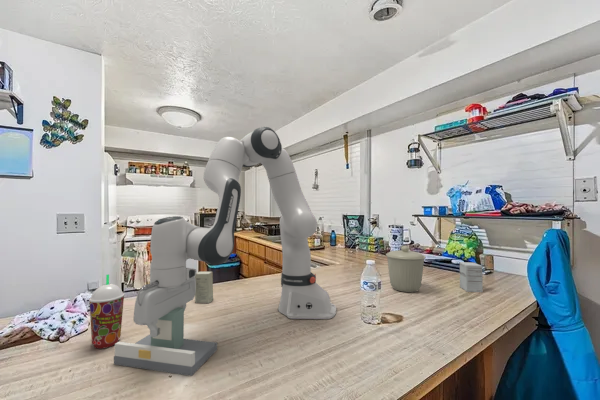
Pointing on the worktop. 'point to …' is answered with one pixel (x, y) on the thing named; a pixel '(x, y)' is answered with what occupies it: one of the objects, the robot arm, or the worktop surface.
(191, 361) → the shelf board
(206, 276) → the skincare box
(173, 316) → the product box
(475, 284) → the supplement box
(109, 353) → the worktop surface
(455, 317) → the worktop surface
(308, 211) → the robot arm
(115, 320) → the smoothie
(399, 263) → the canister
